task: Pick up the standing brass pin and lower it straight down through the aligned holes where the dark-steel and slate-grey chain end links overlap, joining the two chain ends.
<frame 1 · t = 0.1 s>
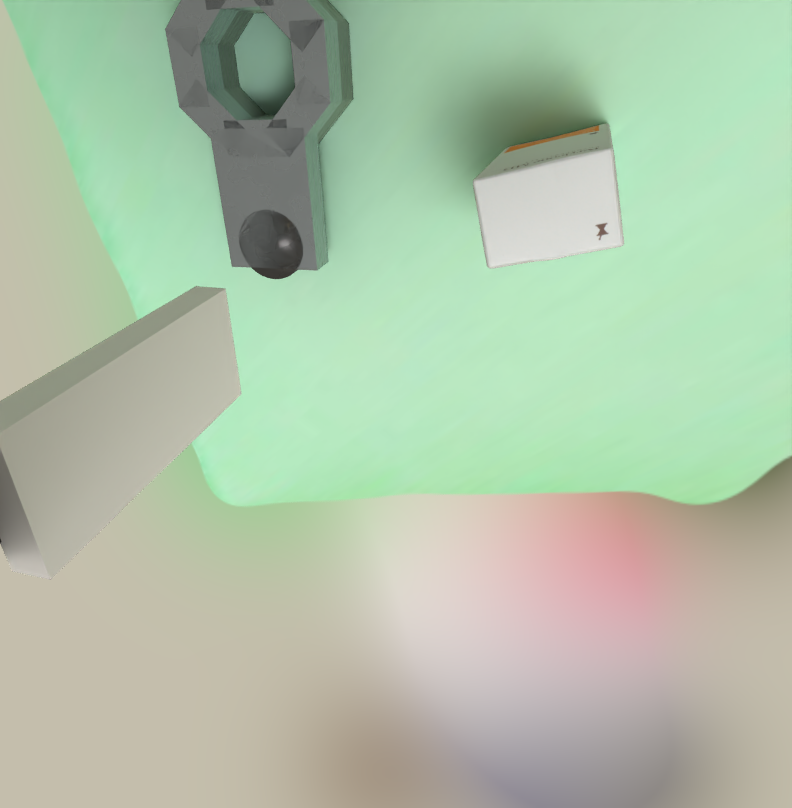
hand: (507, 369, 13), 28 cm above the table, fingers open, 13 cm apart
chain ends: (277, 65, 38), on the table
skincare box 2: (559, 170, 37), on the table
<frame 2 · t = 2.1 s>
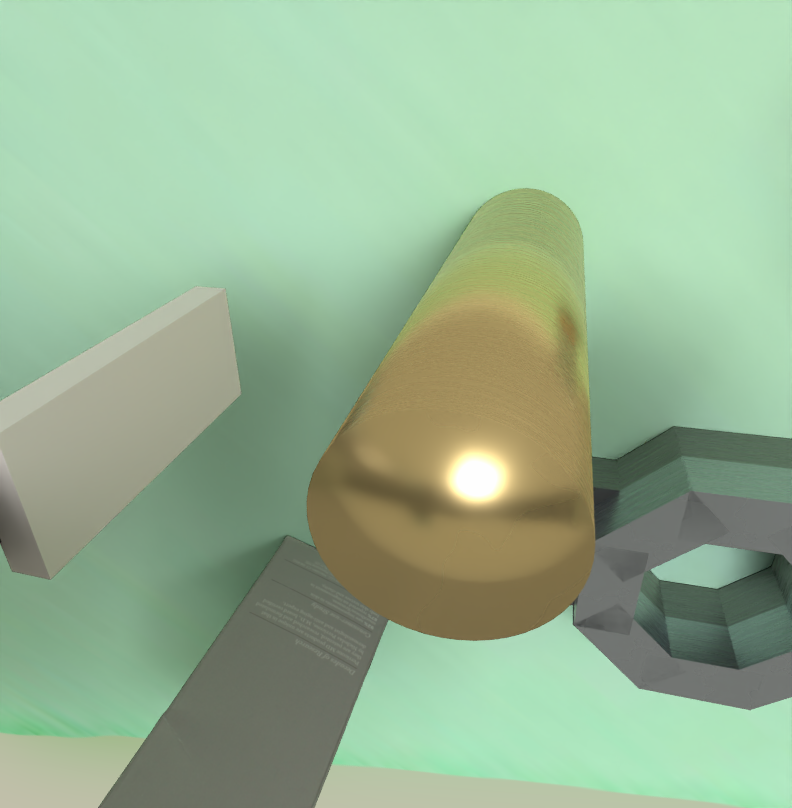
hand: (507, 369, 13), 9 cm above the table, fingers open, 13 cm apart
chain ends: (703, 534, 25), on the table
skincare box: (318, 600, 33), on the table
brass pin: (522, 249, 21), on the table
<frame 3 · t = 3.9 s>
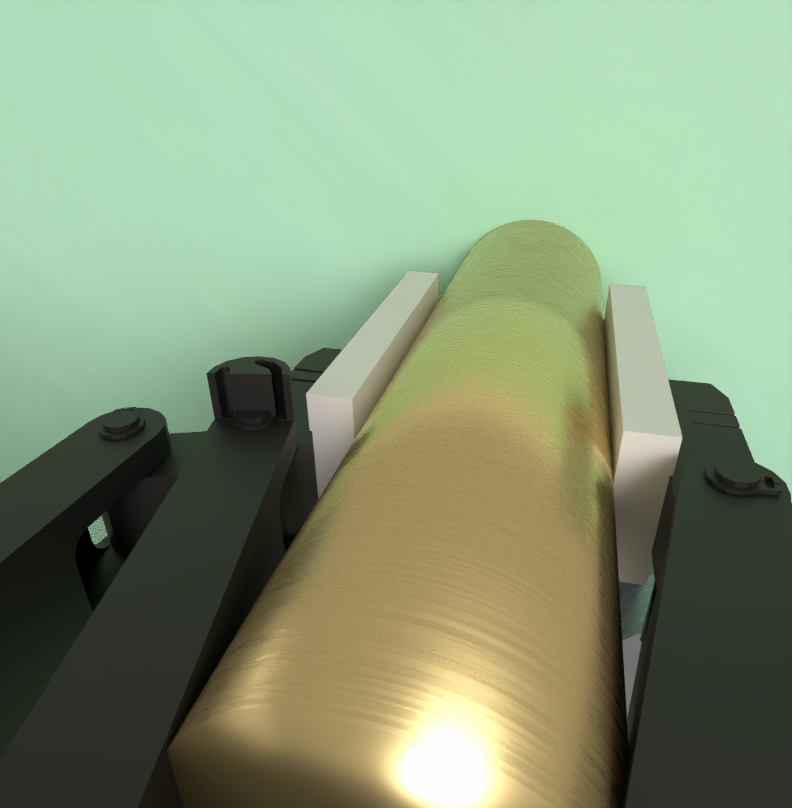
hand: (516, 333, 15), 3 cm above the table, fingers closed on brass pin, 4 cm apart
chain ends: (739, 622, 21), on the table
brass pin: (527, 291, 18), on the table, touching gripper
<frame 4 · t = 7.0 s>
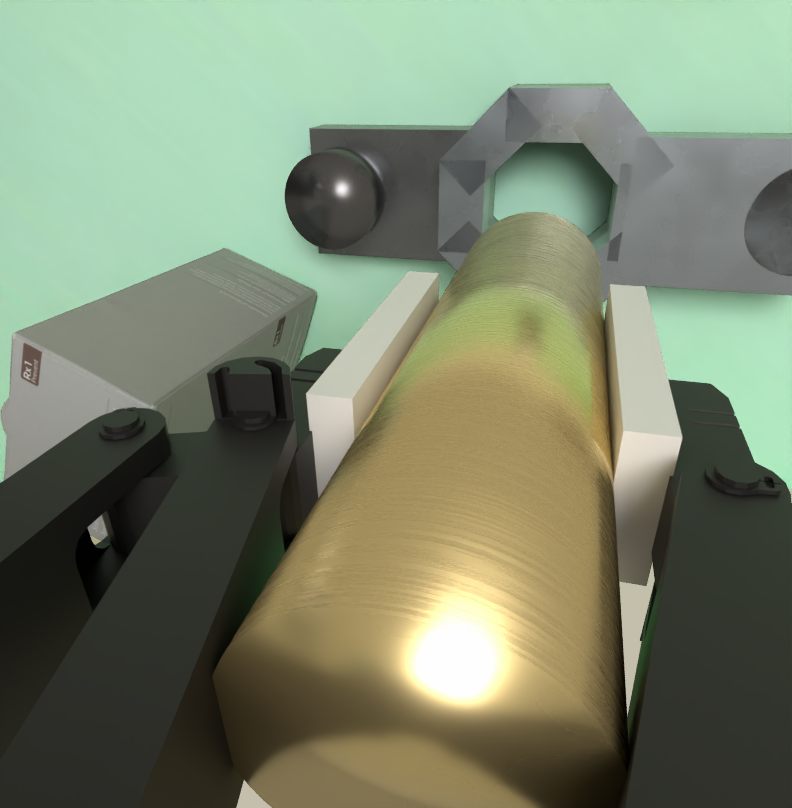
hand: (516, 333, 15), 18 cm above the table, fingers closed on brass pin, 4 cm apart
chain ends: (551, 194, 30), on the table
skincare box: (254, 319, 38), on the table
brass pin: (530, 281, 18), point 14 cm above the table, touching gripper
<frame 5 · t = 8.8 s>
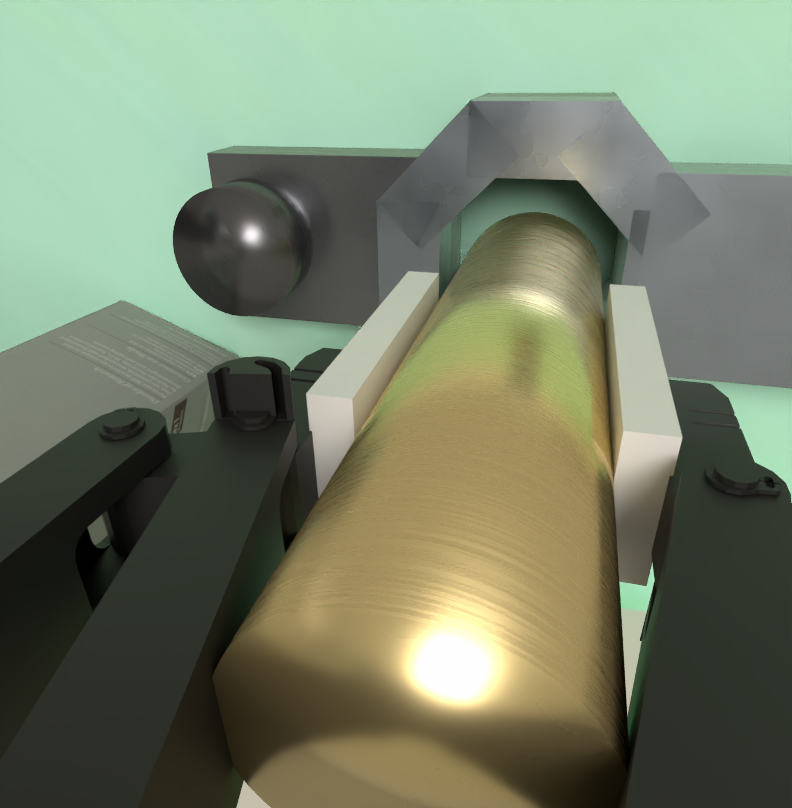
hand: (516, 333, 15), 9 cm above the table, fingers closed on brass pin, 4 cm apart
chain ends: (536, 240, 22), on the table
skincare box: (165, 386, 30), on the table
brass pin: (530, 281, 18), point 5 cm above the table, touching gripper
when the fingers open (6 cm above the table, at t = 10.3 s): brass pin drops 1 cm, resting in chain ends.
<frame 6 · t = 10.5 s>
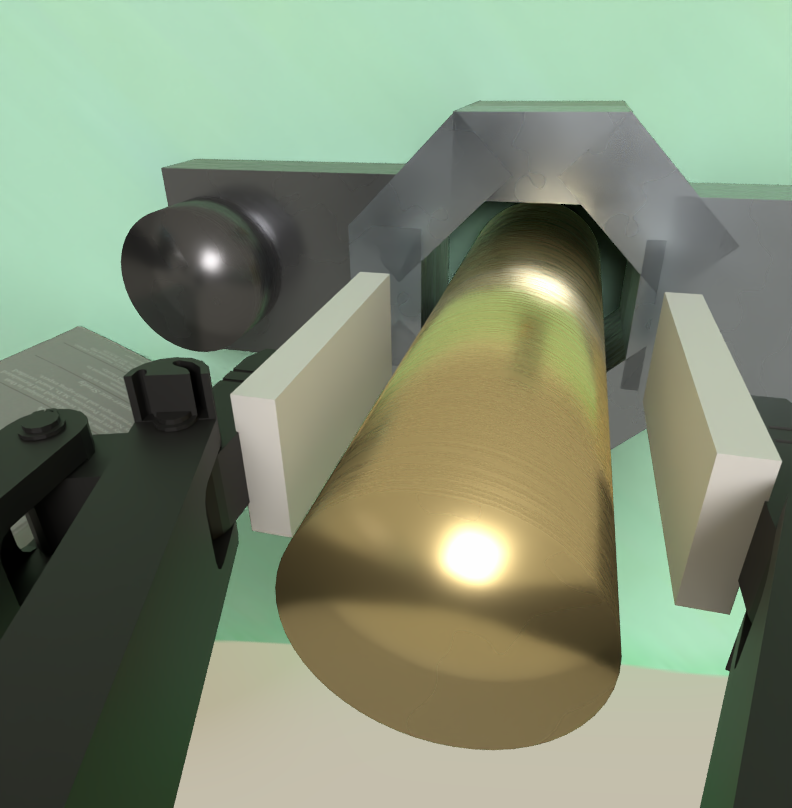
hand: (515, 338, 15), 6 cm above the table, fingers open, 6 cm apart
chain ends: (533, 267, 20), on the table
skincare box: (130, 418, 28), on the table
brass pin: (534, 265, 20), resting in chain ends
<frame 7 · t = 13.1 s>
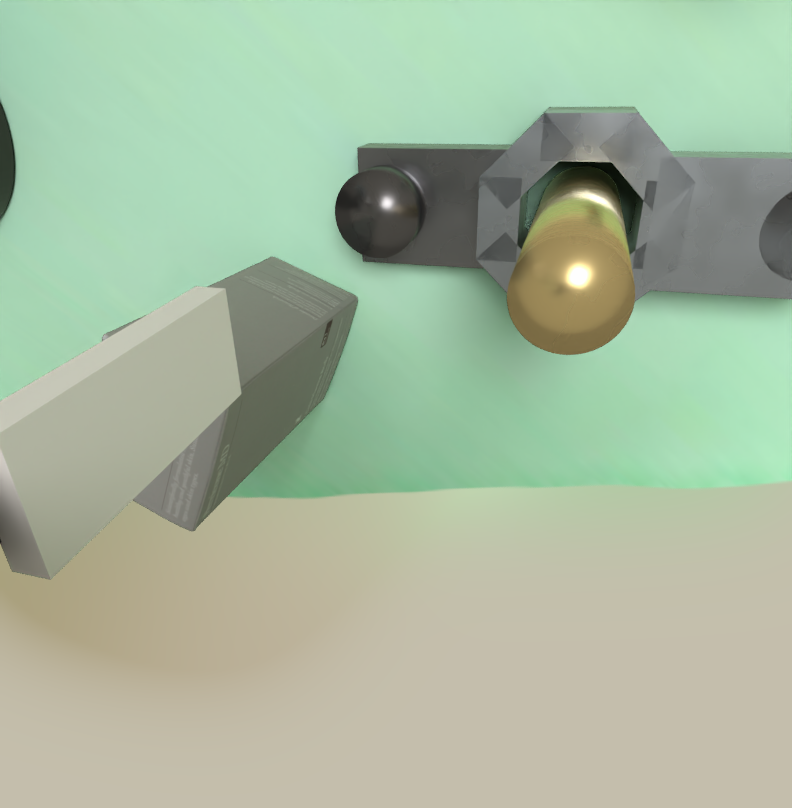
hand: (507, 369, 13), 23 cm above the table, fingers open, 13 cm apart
chain ends: (579, 206, 33), on the table
skincare box: (297, 322, 41), on the table
brass pin: (579, 205, 33), resting in chain ends
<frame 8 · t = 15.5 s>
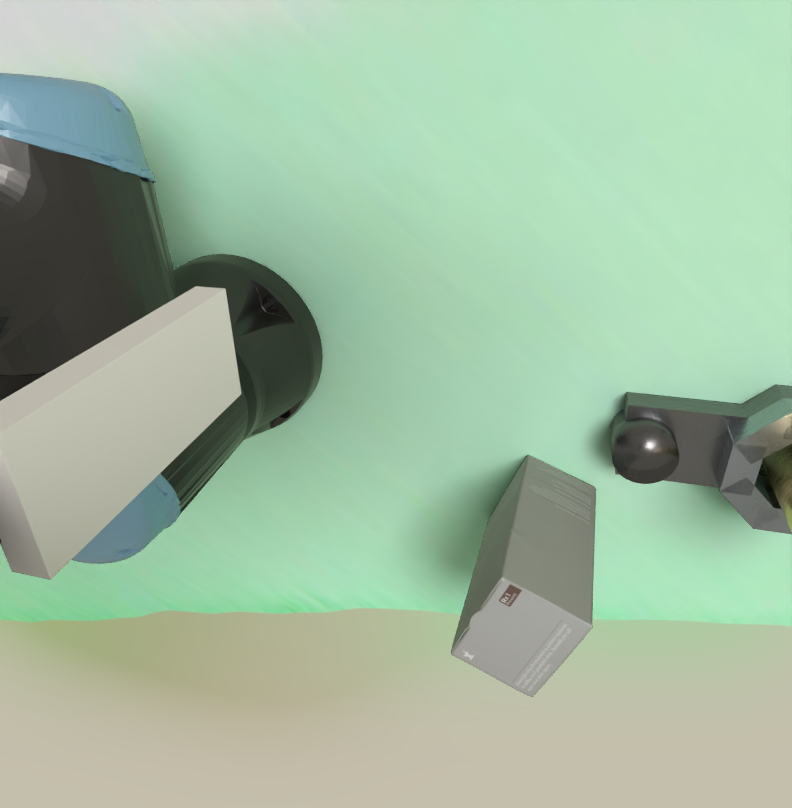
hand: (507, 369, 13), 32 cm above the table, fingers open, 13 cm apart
chain ends: (787, 446, 45), on the table
skincare box: (537, 498, 53), on the table
brass pin: (788, 445, 45), resting in chain ends
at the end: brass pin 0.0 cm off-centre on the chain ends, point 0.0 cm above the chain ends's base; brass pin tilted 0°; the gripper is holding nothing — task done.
